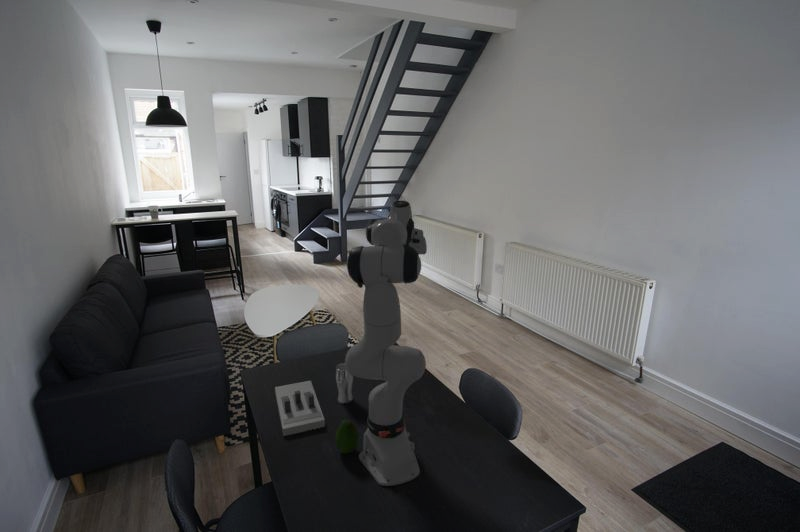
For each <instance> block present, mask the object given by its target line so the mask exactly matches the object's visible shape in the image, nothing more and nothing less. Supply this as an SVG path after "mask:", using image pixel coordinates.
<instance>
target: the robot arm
mask: <svg viewBox="0 0 800 532" xmlns="http://www.w3.org/2000/svg"><path fill="white" fill-rule="evenodd" d="M389 208H390V209H389V218H385V219H376V218H375V219H374V218H372V219H371V220H369V221H368V222H367V225H366V226H365V238H366V240H367V242H368V243H369V244H370V245H369V246H364V245H361V246H355V247H352V249H351V250H350V251H349V252H348V256H347V259H346V268H347V273H348V276H349V277H350V278H351V280H352V281H353V282H355V284H357V286H358V288H360V289H362V288H363V286H364V287H365V289H364V293H363V302H362V303H363V305H362V306H363V308H362V311H363V314H362V315H363V327H364V328H363V329H364V330H363V337H362V339H360V340H359V342H357V343H356V344H354V345H352V346H351V347H350V348H349V349H348V351H347V352H346V355H345V360H344V363H345V365H346V368H347V371H348V372H349V374H350V375H352V376H353V377H357V378H360V379H364V380H377V381H379V380H380V381H385V382H383V383H380V384H378V385H377V386H375V387H373V389H371V391H370V392H369V395H368V415H367V419H366V420H367V429H366V430H365V432H364V434H363V441H362V448H363V449H362V450H361V452H359V454H358V459H359V460H360V462H361V463H362V464H363V466H364V468H366V469H367V471H368V473H370V475H371V476H372V477H373V478H374V480H375V481H376V483H378V485H380V486H386V487H387V486H389V487H390V486H397V485H401V484H405V483H408V482H410V481H413V480H414V479H415V478H418V476H419V475H420V474H421V469H420V467H419V464H418V460H417V457H416V454H415V450H416V447H415V442H412V441H410V440H409V438H410V437H411V435H410V432H407V429H406V423H405V417H404V412H403V403H404V396H405V393H406V391H407V389H408V388H409V387H410V386H411V385H412V384H413V383H414V382H416V381H418V380H420V379H421V377H422V376H423V375H424V374H425V370H426V366H427V363H426V362H427V361H426V357H425V355H424V353H423V351H422V350H420V349H419V348H415V347H411V346H407V345H395V344H396V343H397V342H398V340H399V339H400V338H401V336H402V316H401V315H402V314H401V313H402V312H401V304H400V299H399V294H398V290H397V288H396V286H395V285H394V284H403V283H404V284H411V283H414V282H415V283H416V281H417V280H418V278H419V276H420V273H421V270H422V260H421V258H420V255H426V254H427V251H428V250H427V248H428V245H427V240H426V238H425V236H424V231H423V230H422V229H419V228H417V227H415V222H414V220H413V213H412V207H411V204H410V203H409V201H406V200H394V201H393V202H392V203H391V204H390V207H389Z"/></svg>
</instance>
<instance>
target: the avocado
mask: <svg viewBox="0 0 800 532" xmlns="http://www.w3.org/2000/svg"><path fill="white" fill-rule="evenodd" d="M359 441H360V434H359V431H358V430H357V427H356V426H355V424H354V423H353V421H351V420H350V419H344V420H342V421H341V423H340V424H339V426H338V428H337V430H336V433H335V445H336V448H337V449H338V451H339V452H340V453H342V454H344V455H345V454H348V455H349V454H352V453H353V452H354V451H355V450H356V448H358V445H359V443H360V442H359Z"/></svg>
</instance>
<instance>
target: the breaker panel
mask: <svg viewBox="0 0 800 532" xmlns="http://www.w3.org/2000/svg"><path fill="white" fill-rule="evenodd" d="M299 390H300V394H301V402H299V403H296V402H295V391H299ZM274 394H275V400H276V403H277V404H276V405H277V411H278V414H279V419H280V425H281V429H282V430H281V431H282V437H286V436H291V435H294V434H299V433H304V432H309V431H313V430H318V429H321V427H322V428H325V427H326V420H325V416H324V414H323V411H322V409H321V406H320V403H319V400H318V398H317V394H316V390H315V389H314V386H313V382H312V380H307V381H301V382H300V381H299V382H295V383H290V384H289V383H288V384H285V385H279V386H275V387H274ZM317 428H318V429H317ZM312 429H313V430H312ZM308 430H309V431H308Z"/></svg>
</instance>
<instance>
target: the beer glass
mask: <svg viewBox="0 0 800 532" xmlns="http://www.w3.org/2000/svg"><path fill="white" fill-rule="evenodd" d="M335 380H336V381H335V382H336V386H337V390H338V391H337V392H338V396H337V397H338V398H337V401H338V402H339V403H340V404H344V403H345V404H349V403H351V402H352V401H353V394H352V393H353V392H352V389H353V383H354V382H353V381H354V376H352V375H350V374H349V372H348V371H347V368H346V365H345V362H342V363H338V364H337V365H336V366H335Z"/></svg>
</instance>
